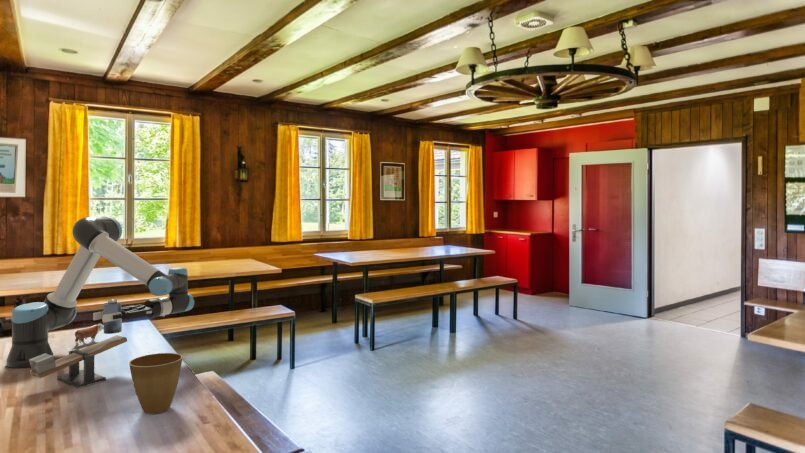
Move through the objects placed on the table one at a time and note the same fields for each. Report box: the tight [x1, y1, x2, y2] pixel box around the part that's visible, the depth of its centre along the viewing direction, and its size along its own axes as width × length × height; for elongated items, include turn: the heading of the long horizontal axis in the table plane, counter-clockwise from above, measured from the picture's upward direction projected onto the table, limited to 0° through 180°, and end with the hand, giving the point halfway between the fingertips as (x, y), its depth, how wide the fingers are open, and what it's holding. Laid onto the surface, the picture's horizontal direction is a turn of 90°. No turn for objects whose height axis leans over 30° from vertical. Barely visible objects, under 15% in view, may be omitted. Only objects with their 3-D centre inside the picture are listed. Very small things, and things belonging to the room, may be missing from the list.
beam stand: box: [56, 349, 107, 388], centre depth 179 cm, size 16×9×10 cm, turn 58°
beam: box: [29, 334, 128, 379], centre depth 178 cm, size 9×30×6 cm, turn 148°
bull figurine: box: [74, 323, 104, 346], centre depth 228 cm, size 4×13×8 cm, turn 155°
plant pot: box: [128, 352, 183, 415], centre depth 153 cm, size 15×15×16 cm
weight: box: [102, 298, 123, 335], centre depth 188 cm, size 6×6×12 cm
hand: (98, 317), depth 183 cm, fingers closed on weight, 6 cm apart
